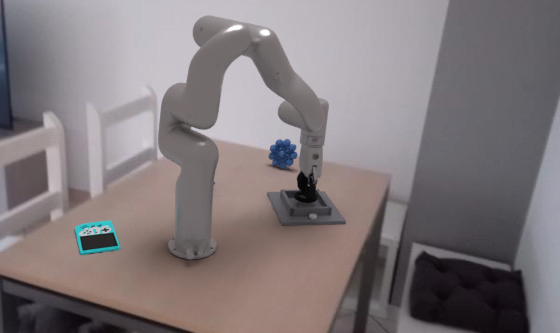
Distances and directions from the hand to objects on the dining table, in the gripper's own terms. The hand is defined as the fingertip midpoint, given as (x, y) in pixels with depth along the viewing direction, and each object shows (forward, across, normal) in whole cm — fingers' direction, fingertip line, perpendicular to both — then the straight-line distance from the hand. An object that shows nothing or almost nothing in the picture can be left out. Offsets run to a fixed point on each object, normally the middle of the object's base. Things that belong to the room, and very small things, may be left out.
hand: (306, 191), depth 170 cm
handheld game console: (+6, -15, +62) cm, 64 cm away
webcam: (+2, 0, 0) cm, 2 cm away
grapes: (+6, +35, -1) cm, 36 cm away
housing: (+6, 0, 0) cm, 6 cm away
